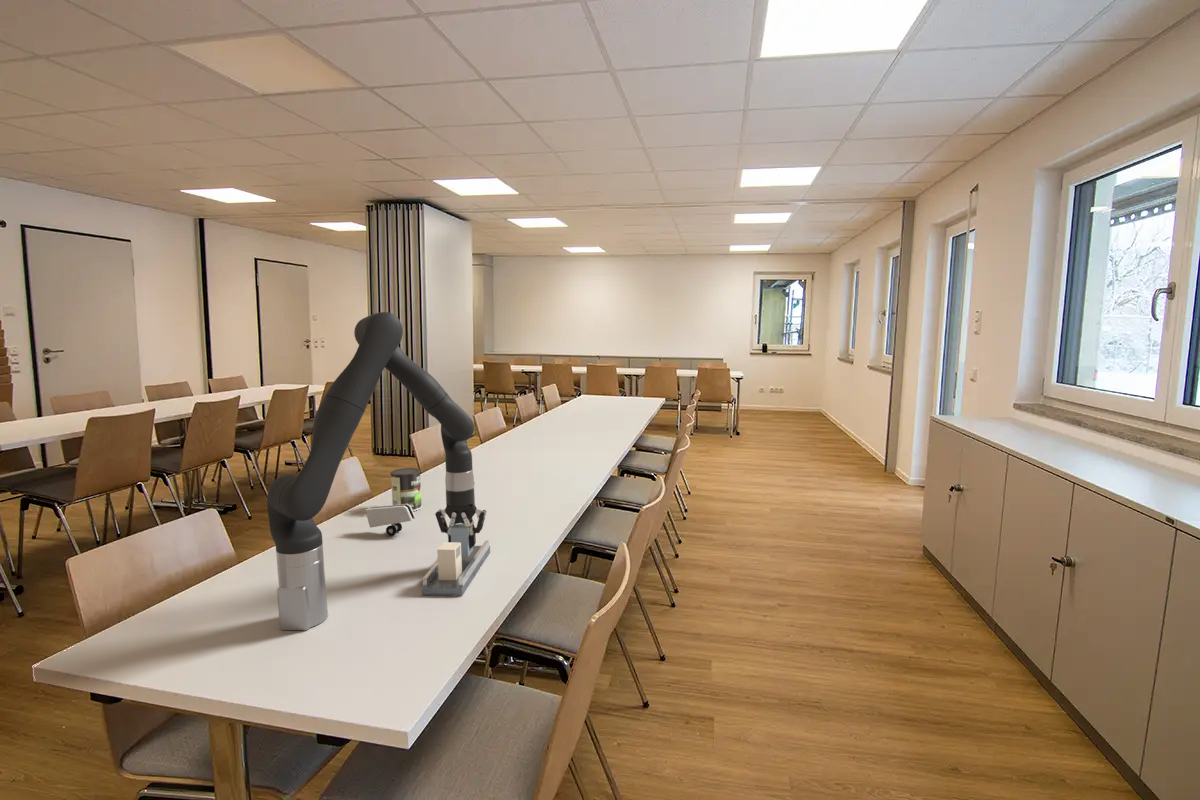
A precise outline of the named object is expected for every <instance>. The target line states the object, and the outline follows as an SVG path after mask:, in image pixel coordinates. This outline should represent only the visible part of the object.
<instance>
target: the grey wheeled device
mask: <svg viewBox="0 0 1200 800" xmlns="http://www.w3.org/2000/svg"><path fill="white" fill-rule="evenodd" d="M364 510H365V514H366V518H367V522H368V525H369V528H370V529H371V528H376V527H381V526H382V527H383V526H387V527H386V528H385V533H386V534H387V536H389V537H393V536H395V535H396V533H399V532H400V531H402V530H403V529H402V528H403V525H402V523H406V522H412V521H413V520H415V519H416V518H417V517H416V514H415V511H414V512H413V510H412V508H411V506H410V505H409V504H400V505H393V504H391V505H379V506H369V507H368V508H366V509H364Z"/></svg>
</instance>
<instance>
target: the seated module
mask: <svg viewBox="0 0 1200 800" xmlns="http://www.w3.org/2000/svg"><path fill="white" fill-rule="evenodd" d="M436 550H437V561H438V575H439V580H457V579H458V577H459V576H460V574H461V573H462V558H461V542H448V541H447V542H446V541H444V542H442V544H440V546H439V547H438V548H437V549H436Z"/></svg>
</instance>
